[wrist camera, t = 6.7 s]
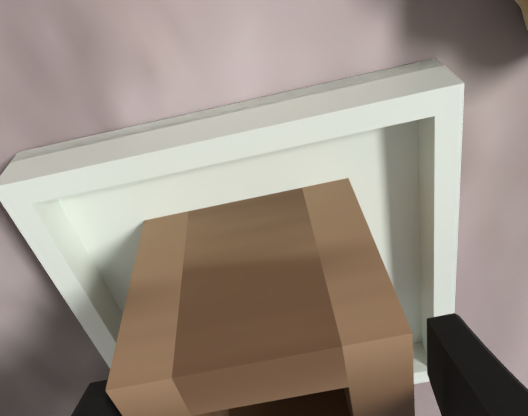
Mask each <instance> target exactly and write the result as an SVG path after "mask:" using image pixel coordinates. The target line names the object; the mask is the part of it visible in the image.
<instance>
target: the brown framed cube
mask: <svg viewBox="0 0 528 416" xmlns="http://www.w3.org/2000/svg"><path fill="white" fill-rule="evenodd" d="M105 391H106V392H107V394H108V395H109V397H110V398H111V400H112V401H113V403H114V404H115V406H116V407H117V409H118V410H119V411H120V413H121V414H122V416H415V410H414V372H413V334H412V331H411V328H410V326H409V324H408V321H407V319H406V316H405V314H404V311H403V309H402V307H401V304H400V302H399V299H398V297H397V294H396V292H395V290H394V287H393V285H392V282H391V280H390V278H389V275H388V273H387V270H386V268H385V265H384V263H383V261H382V258H381V256H380V253H379V251H378V248H377V246H376V244H375V241H374V239H373V236H372V234H371V232H370V229H369V227H368V224H367V222H366V219H365V217H364V215H363V212H362V210H361V207H360V205H359V202H358V200H357V198H356V195H355V193H354V190H353V188H352V186H351V183H350V181H349V178H346V179H341V180H336V181H331V182H326V183H322V184H317V185H312V186H307V187H302V188H298V189H293V190H288V191H283V192H278V193H274V194H269V195H264V196H259V197H254V198H250V199H245V200H240V201H235V202H230V203H225V204H221V205H216V206H211V207H206V208H201V209H197V210H192V211H187V212H182V213H177V214H173V215H168V216H163V217H158V218H153V219H149V220H144V223H143V227H142V232H141V236H140V240H139V245H138V249H137V254H136V258H135V262H134V267H133V271H132V276H131V280H130V284H129V289H128V293H127V298H126V302H125V306H124V311H123V315H122V320H121V324H120V329H119V333H118V337H117V342H116V346H115V351H114V355H113V359H112V364H111V368H110V373H109V377H108V381H107V386H106V390H105Z"/></svg>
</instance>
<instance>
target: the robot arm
mask: <svg viewBox="0 0 528 416" xmlns="http://www.w3.org/2000/svg"><path fill="white" fill-rule="evenodd" d="M427 374H428V377H429V380H430V383H431V386H432V389H433V392H434V395H435V398H436V401H437V404H438V407H439V409H440V412H441V415H442V416H528V389H527V388H526V387H525V386H524V385H523V384H522V383H521V382H520V381H519V380H518V379H517V378H516V377H515V376H514V375H513V374H512V373H511V372H510V371H509V370H508V369H507V368H506V367H505V366H504V365H503V364H502V363H501V362H500V361H499V360H498V359H497V358H496V357H495V356H494V355H493V353H492V352H491V351H490V350H489V349H488V348H487V347H486V346H485V345H484V344H483V343H482V342H481V340H480V339H479V338H478V337H477V336H476V335H475V334H474V333H473V331H472V330H471V329H470V328H469V327H468V326H467V325H466V323H465V322H464V321H463V320H462V319H461V317H460V316H459V315H457V314H455V313H452V314H447V315H442V316H437V317H431V318H427ZM107 381H108V380H104V381H99V382H94V383H90V384H89V386H88V387H87V389H86V391H85V392H84V394H83V396H82V398H81V399H80V401H79V403H78V405H77V406H76V408H75V410H74V412H73V414H72V415H71V416H122V414H121V413H120V411H119V410H118V409H117V407H116V406H115V404H114V403H113V401H112V400H111V398H110V397H109V395H108V394H107V392H106V391H105V390H106V386H107Z"/></svg>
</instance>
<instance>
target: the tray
mask: <svg viewBox="0 0 528 416" xmlns="http://www.w3.org/2000/svg"><path fill="white" fill-rule="evenodd" d="M463 104H464V82H463V81H462V80H460V79H459V78H458V77H457V76H456V75H455V74H453V73H452V72H451V71H450V70H449V69H448V68H447V67H445V66H444V65H443V64H442V63H441V62H440V61H438V60H437V59H436V58H433V59H429V60H425V61H420V62H416V63H411V64H407V65H402V66H398V67H394V68H389V69H385V70H380V71H376V72H371V73H367V74H362V75H358V76H354V77H349V78H345V79H340V80H336V81H331V82H327V83H323V84H318V85H314V86H309V87H305V88H300V89H296V90H291V91H287V92H283V93H278V94H274V95H269V96H265V97H260V98H256V99H252V100H247V101H243V102H238V103H234V104H229V105H225V106H220V107H216V108H212V109H207V110H203V111H198V112H194V113H189V114H185V115H181V116H176V117H172V118H167V119H163V120H158V121H154V122H149V123H145V124H141V125H136V126H132V127H127V128H123V129H118V130H114V131H110V132H105V133H101V134H96V135H92V136H87V137H83V138H79V139H74V140H70V141H65V142H61V143H56V144H52V145H47V146H43V147H39V148H34V149H30V150H25V151H21V152H17V154H16V155H15V156H14V158H13V159H12V161H11V162H10V163H9V165H8V166H7V167H6V169H5V170H4V171H3V173H2V174H1V175H0V201H1V203H2V205H3V206H4V208H5V209H6V211H7V212H8V214H9V215H10V217H11V218H12V220H13V221H14V223H15V224H16V226H17V227H18V229H19V230H20V232H21V234H22V235H23V237H24V238H25V240H26V241H27V243H28V244H29V246H30V247H31V249H32V250H33V252H34V253H35V255H36V256H37V258H38V260H39V261H40V263H41V264H42V266H43V267H44V269H45V270H46V272H47V273H48V275H49V276H50V278H51V279H52V281H53V282H54V284H55V286H56V287H57V289H58V290H59V292H60V293H61V295H62V296H63V298H64V299H65V301H66V302H67V304H68V305H69V307H70V308H71V310H72V312H73V313H74V315H75V316H76V318H77V319H78V321H79V322H80V324H81V325H82V327H83V328H84V330H85V331H86V333H87V334H88V336H89V338H90V339H91V341H92V342H93V344H94V345H95V347H96V348H97V350H98V351H99V353H100V354H101V356H102V357H103V359H104V360H105V362H106V364H107V365H108V367H109V368H111V364H112V359H113V355H114V351H115V346H116V342H117V337H118V333H119V329H120V324H121V320H122V315H123V311H124V306H125V302H126V298H127V293H128V289H129V284H130V280H131V276H132V271H133V267H134V262H135V258H136V254H137V249H138V245H139V240H140V236H141V232H142V227H143V223H144V220H149V219H153V218H158V217H163V216H168V215H173V214H177V213H182V212H187V211H192V210H197V209H201V208H206V207H211V206H216V205H221V204H225V203H230V202H235V201H240V200H245V199H250V198H254V197H259V196H264V195H269V194H274V193H278V192H283V191H288V190H293V189H298V188H302V187H307V186H312V185H317V184H322V183H326V182H331V181H336V180H341V179H346V178H349V181H350V183H351V186H352V188H353V190H354V193H355V195H356V198H357V200H358V202H359V205H360V207H361V210H362V212H363V215H364V217H365V219H366V222H367V224H368V227H369V229H370V232H371V234H372V236H373V239H374V241H375V244H376V246H377V248H378V251H379V253H380V256H381V258H382V261H383V263H384V265H385V268H386V270H387V273H388V275H389V278H390V280H391V282H392V285H393V287H394V290H395V292H396V294H397V297H398V299H399V302H400V304H401V307H402V309H403V311H404V314H405V316H406V319H407V321H408V324H409V326H410V328H411V331H412V334H413V372H414V384H417V383H423V382H428V381H430V380H429V377H428V374H427V318H431V317H437V316H442V315H447V314H452V313H454V310H455V287H456V264H457V241H458V219H459V196H460V173H461V150H462V127H463Z"/></svg>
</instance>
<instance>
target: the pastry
mask: <svg viewBox="0 0 528 416" xmlns="http://www.w3.org/2000/svg"><path fill="white" fill-rule="evenodd" d="M515 1H516V3H517V4H518V5H519V7H520V8H521V10H522V14H523V18H524V21H525V24H526V28H527V31H528V0H515Z"/></svg>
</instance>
